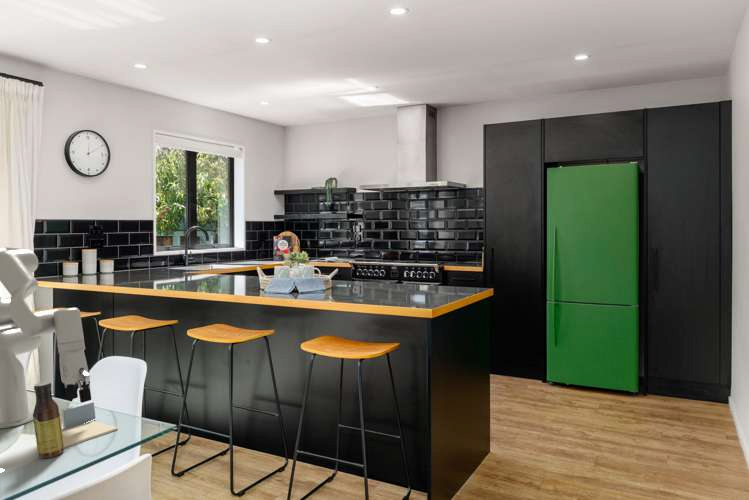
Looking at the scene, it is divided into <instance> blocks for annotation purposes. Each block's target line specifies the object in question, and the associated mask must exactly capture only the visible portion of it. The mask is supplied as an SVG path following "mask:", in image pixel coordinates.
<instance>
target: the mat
mask: <svg viewBox="0 0 749 500" xmlns="http://www.w3.org/2000/svg"><path fill="white" fill-rule="evenodd" d="M115 430H116V431H118V430H119V428H118V427H116V426H113V425H109V424H106V423H103V422H99V421H97V420H96V421H91V422H88V423H85V424H82V425H78V426H75V427H72V428H69V429H62V434H63V442H64V446H63V447H64V449H66V448H68V447H71V446H75V445H77V444H80V443H83V442H86V441H89V440H91V439H94V438H95V439H96V438H98V437H101V436H104V435H106V434H110V433H112V432H116V431H115Z"/></svg>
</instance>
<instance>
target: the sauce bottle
mask: <svg viewBox="0 0 749 500" xmlns="http://www.w3.org/2000/svg"><path fill="white" fill-rule="evenodd" d="M33 390H34V392H35V393H34V394H35V405H34V410H33V412H32V413H33V420H32V421H33V425H34V427H33V428H34V433H35V434H34V435H35V443H36V448H37V453H38V456H39V458H40V459H50V458H55V457H57V456H59V455H61V454H62V453H64V452H65V448H64V447H63V446H64V442H63V434H62V430H63V426H62V421H61V420H62V419H61V415H60V409H59V405H58V403H57V402H56V401H55V400H54V398H53V395H52V383H51V381H44V382H39V383H35V384H34V385H33Z"/></svg>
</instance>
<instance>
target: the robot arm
mask: <svg viewBox="0 0 749 500" xmlns="http://www.w3.org/2000/svg"><path fill="white" fill-rule="evenodd" d="M38 267H39V259H38V256H37V255H36V253H35V252H33V250H30V249H27V248H18V247H17V248H16V247H5V246H4V247H3V246H1V247H0V283H1V284H2V286H3V287H4V288H5V290H7V292H8V293H9V294H10V297H3V298H2V297H1V296H0V328H1V329H0V430H1V429H8V428H13V427H18V426H21V425H24V424H27V423H30V422H32V421H34V420H33V413H34V412H30V409H29V399H28V392H27V391H28V389H27V383H26V375H25V369H24V368H25V367H24V365H23V364H22V362H21V361H20V360H19V358H18V357H17V356H19V355H22V354H25V353H30V352H32V351H36V350H37V349H38V348H39V347H40V345H41V343H42V336H44V335H47V334H48V335H49V334H53V333H55V338H56V343H57V350H58V351H57V352H58V355H59V371H60V380H61V382H62V383H63V384H64V389H65V395H66V400H67V401H71V400H74V399H77V398H79V402H80V403H81V404H84V403H87V402H91V400H92V392H91V384H90V383H91V381H90V379H91V377H90V376H91V375H90V374H89V367H88V364H87V363H88V362H87V358H86V355H85V354H86V353H85V350H86V344H85V338H84V337H85V336H84V330H83V324H82V323H83V322H82V318H81V317H82V316H81V315H82V314H81V311H80V309H79V308H78V307H66V308H52V309H46V310H41V311H34V312H33V311H32V310H31V309H30V306H29V305H28V303H27V302H26V301H25V299H26V298H28V297H30V296H31V295H32V294H34V292H36V290H37V288H38V287H39V282H38V279H36V278H35V276H34V275H33V274H32V273H33V272H35V271H37V269H38ZM7 326H11V327H7ZM2 327H7V328H2ZM77 386H78V388H79V390H78V389H77Z"/></svg>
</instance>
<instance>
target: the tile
mask: <svg viewBox="0 0 749 500" xmlns="http://www.w3.org/2000/svg"><path fill="white" fill-rule="evenodd" d="M61 418H62V419H61V420H62V421H61V422H62V430H66V429H69V428H72V427H75V426H78V425H82V424H84V423H86V422H88V421H91V420H93V419H95V418H96V411H95V402H94V401H86V402H83V403H81V404H78V405H73V406H70V407H67V408H63V409H61Z"/></svg>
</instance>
